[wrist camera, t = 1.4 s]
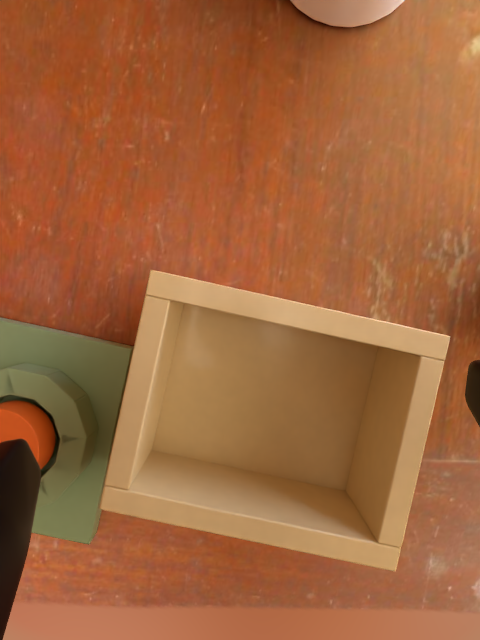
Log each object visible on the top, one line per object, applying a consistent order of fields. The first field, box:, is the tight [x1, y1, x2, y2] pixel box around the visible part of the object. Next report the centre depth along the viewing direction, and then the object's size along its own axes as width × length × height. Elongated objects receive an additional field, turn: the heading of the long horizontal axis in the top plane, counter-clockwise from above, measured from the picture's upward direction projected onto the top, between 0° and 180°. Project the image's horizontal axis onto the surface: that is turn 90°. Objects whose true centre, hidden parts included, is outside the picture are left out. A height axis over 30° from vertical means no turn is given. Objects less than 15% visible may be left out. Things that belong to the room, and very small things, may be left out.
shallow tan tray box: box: [99, 270, 450, 571], centre depth 20 cm, size 10×12×6 cm
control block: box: [0, 317, 134, 544], centre depth 21 cm, size 10×8×3 cm
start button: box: [0, 400, 56, 470], centre depth 19 cm, size 4×4×2 cm
